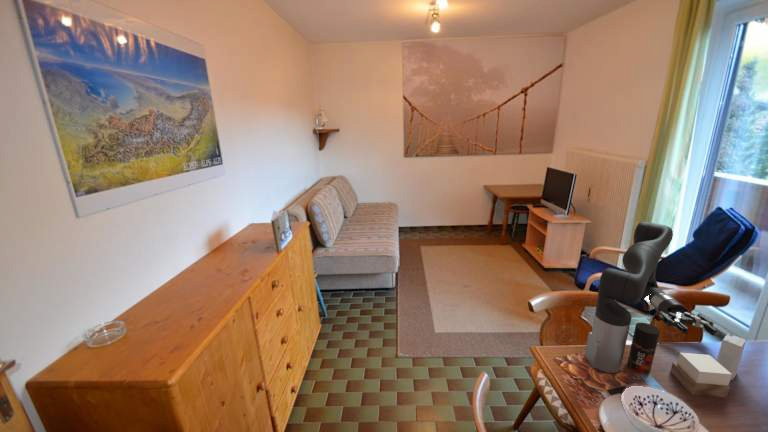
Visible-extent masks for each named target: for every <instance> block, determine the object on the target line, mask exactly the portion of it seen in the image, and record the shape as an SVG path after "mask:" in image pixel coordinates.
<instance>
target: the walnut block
mask: <svg viewBox="0 0 768 432" xmlns="http://www.w3.org/2000/svg"><path fill="white" fill-rule="evenodd" d="M669 372H670V373H671V374H672V376H674V378H675V379H677V381H678V382H679V383H680V384H681V385H682V386H683V387H684V388H685V389H686V390H687V391H688V392H689V393H690V395H693V396H694V395H696V396H707V397H718V398H719V397H720V398H728V394H729V392H730V389H731V386H729V385H728V386H726V385H715V384H704V383H696V382H695V381H694V380H693V379H692V378H691V377H690V376H689V375H688V374H687V373H686V372H685V371H684V370H683V369H682V368H681V367H680V366H679V365H678V364H677V362H675V361H672V363H671V367H670V371H669Z"/></svg>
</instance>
